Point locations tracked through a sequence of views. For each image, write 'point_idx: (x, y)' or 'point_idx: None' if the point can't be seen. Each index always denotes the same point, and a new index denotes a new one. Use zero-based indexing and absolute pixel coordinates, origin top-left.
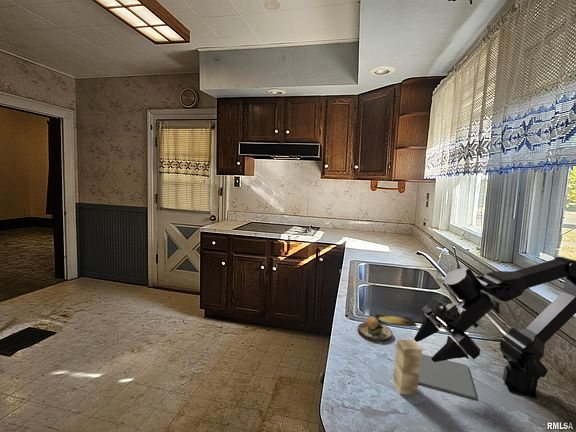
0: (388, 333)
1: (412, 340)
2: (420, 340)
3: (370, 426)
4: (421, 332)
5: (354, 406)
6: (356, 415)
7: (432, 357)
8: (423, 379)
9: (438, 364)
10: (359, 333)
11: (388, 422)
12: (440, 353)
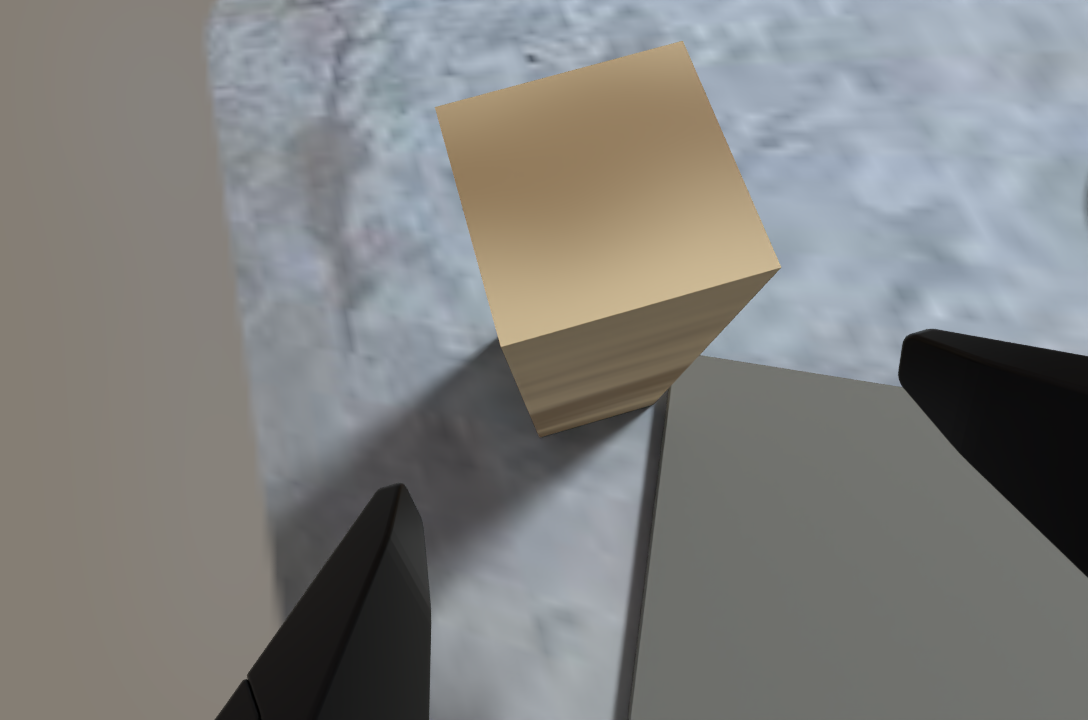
0: None
1: (749, 245)
2: (943, 433)
3: (227, 162)
4: (1080, 416)
5: (350, 91)
6: (289, 102)
7: (394, 496)
8: (706, 512)
9: (998, 707)
10: None
11: (264, 244)
12: (284, 625)
